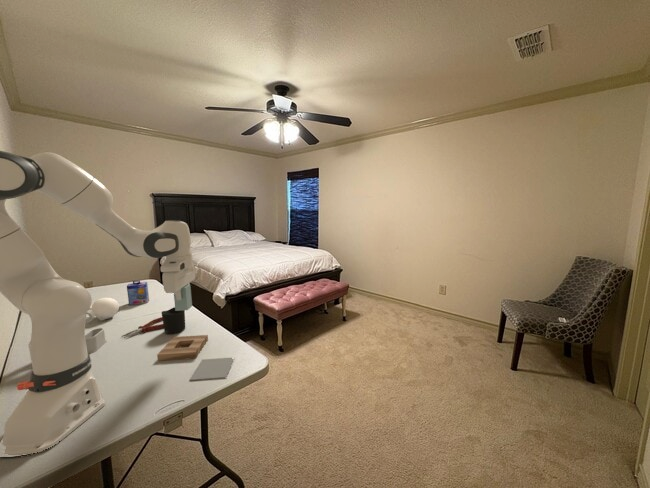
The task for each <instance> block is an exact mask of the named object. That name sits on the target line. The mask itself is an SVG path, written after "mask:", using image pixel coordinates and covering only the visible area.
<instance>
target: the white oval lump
mask: <svg viewBox="0 0 650 488" xmlns="http://www.w3.org/2000/svg"><path fill="white" fill-rule="evenodd" d="M92 303H93V304H91V306H90V308H89V310H91V311H93V312H94V315H95V317H96V318H97V319H99V321H105V320H108V319H111V318H114V316H116V314H118V312H119V309H120V305H119V302H118V301H117V300H116V299H114V298H111V297H101V298H99V299H97V300H95V301H94V302H92Z"/></svg>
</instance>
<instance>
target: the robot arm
mask: <svg viewBox="0 0 650 488" xmlns="http://www.w3.org/2000/svg"><path fill="white" fill-rule="evenodd" d="M32 192H37V193H40V194H42V195H45V196H46V197H49V198H50V199H51V200H52V201H53V202H55V203H57V204H58V205H60V206H61V207H63V208H64V209H67V210H68V211H70V212H72V213H73V214H76V215H77V216H79V217H82V218H83V219H85V220H87V221H89V222H91V223H93V224H95V225H96V226H97V227H99V228H100V229H101V230H102V231H105V232H106V233H107V234H109V235H110V236H111V237H113V238H114V239H115V240H117V242H118V243H119V244H120V245H121V246H122V248H123V250H124V251H125V252H126V253H127V254H128V255H130V256H131V257H136V258H149V259H160V258H165V260H164V262H163V263H162V264H161V266H160V272H161V273H162V275H161V276H162V277H161V278H162V279H161V280H162V286H163V290H164V292H165V293H166V294H173V295H174V294H175V295H176V300H181V299H182V298H183V295H182V294H181V288H183V287H184V286H186V285H187V284H190V283H191V282H193V281H194V280H195V279H196V269H195V264H194V262H193V252H192V250H191V244H192V238H191V233H190V228H189V225H188V223H186V222H184V221H182V220H172V219H169V220H165V221H164V222H163V223H162V224H160V225H159V226H157V227H155V228H153V229H151V230H146V229H145V230H144V229H140V228H136V227H134V226H132V224H129V223H128V222H127V221H126V220H124V219H123V218H122V217H121V216H120V215H118V214H117V213H116V212H115V211H114V210H113V206H114V197H113V193H112V192H111V191H110V190H109V189H108V188H107V187H106V186H105V185H104V184H103V183H102V182H100V181H99V179H97V178H95V176H93V175H91V174H90V173H89V172H88V171H86V170H85V169H83V168H82V167H80V166H78V165H77V164H76V163H74V162H72V161H70V160H69V159H68V158H65V157H64V156H61V154H58V153H55V152H50V151H45V152H39V153H36V154H34V155H32V156H30V157H25V156H22V155H17V154H14V153H11V152H7V151H3V150H0V293H1V294H2V295H3V296H4V298H6V299H7V300H8V301H9V302H10V303H11V304H12V305H13V306H14V307H15V308H16V309H17V310H18V311H20V312H22V313H24V314H26V315H28V316H29V318H30V321H31V334H30V335H31V336H30V341H29V344H28V350H29V356H30V361H31V366H32V371H31V374H30V377H29V378H30V379H29V380H27V381H26V380H25V381H24V380H23V381H20V382H19V383H17V386H16V389H17V391H24V390H28V391H27V392H26V393H25V395H24V396H23V397H22V399H20V402H19V403H18V405H17V406H16V407H15V409H14V410H13V411H12V413H11V414H10V415H9V416H8V418H7V420H6V421H5V424H4V428H3V437H2V438H1V439H3V443H2V444H3V445H4V446H6V449H5V453H4V454H8V455H23V454H31V453H32V454H31V455H34V454H33V453H35V454H38V453H41V452H44V451H46V450H45V449H47V450H49V449H51V448H53V447H54V446H53V445H55V444H56V445H57V444H58V443H60V442H61V441H63V440H64V439H65V438H66V437H67V436H69V435H70V434H71V433H73V431H74V430H76V429H78V427H80V426H81V425H82V424H84V422H86V421H87V420H88V419H90V418H91V417H92V416H94V414H96V413H97V412H98V411H100V410H101V409H102V408H103V407H105V405H106V402H105V399H104V398H102V394H101V392H100V390H99V385H98V383H97V379H96V378H95V376H94V374H93V372H92V370H91V369H92V359H91V356H90V353H87V346H86V339H85V335H86V325H85V321H86V317H87V315H88V314H87V311H88V310H89V308H90V306H92V303H93V302H92V301H93V298H92V295H91V293H90V292H89V290H87V289H86V287H84V286H83V285H82V284H80V283H79V282H76V281H74V280H73V281H72V280H69V279H65V278H64V277H62V276H60V275H59V274H58V273H57V272H56V271H55V269H54V268H53V267H52V265H51V264H50V262H49V260H48V259H47V257H46V254H45V252H44V251H43V250H42V249H41V247H40V246H39V245H38V244H37V243H36V242H35V241H34V240H33V238H31V237H30V236H29V235H28V234H27V233H26V232H25V231H24V230H23V229H22V227H21V226H20V225H19V224H18V223H17V222H16V221H15V220H14V219H13V218H12V217H11V216H10V215H9V213H8V211H7V210H6V205H5V204H6V201H7V200H8V199H9V200H11V199H15V198H19V197H23V196H25V195H26V194H29V193H32ZM190 285H191V284H190ZM59 441H60V442H59ZM56 445H55V446H56ZM52 446H53V447H52ZM50 447H51V448H50ZM48 448H49V449H48ZM43 450H44V451H43ZM37 452H38V453H37Z"/></svg>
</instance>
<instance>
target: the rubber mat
mask: <svg viewBox="0 0 650 488" xmlns="http://www.w3.org/2000/svg"><path fill="white" fill-rule="evenodd" d="M232 363H234V361H233V359H232V357H222V358H221V357H220V358H205V359H201V361H200V363H199V364H198V366H197V367H196V369H195V370H194V372H193V373H192V375H191V377H190V378H189V381H190V382H192V381H202V380H203V381H205V380H216V379H217V380H219V379H218V378H220V379H226V378H225V377H227V378H228V376H227V375H229V373H230V371H229V370H231V369H232V366H233V364H232ZM231 365H232V366H231ZM228 372H229V373H228Z"/></svg>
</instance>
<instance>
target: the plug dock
mask: <svg viewBox="0 0 650 488" xmlns="http://www.w3.org/2000/svg"><path fill="white" fill-rule="evenodd" d="M206 342H207V343H208V342H209V335H208V334H202V335H200V334H199V335H185V336H181V335H180V336H173V338H172V339H170V340H169V342H168V343H166V345H164V347H163V348H162V349H161V350H160V351H159V352H158V353H157V354H156V356H157V361H159V362H160V361H172V360H173V361H174V360H187V359H186V358H190V359H196V358H197V357H198V356H199V355H198V354H200V353H201V352H202V350H203V349H202V348H204V347H205V346H206V344H207V343H206ZM204 345H205V346H204ZM180 346H181V347H180ZM200 351H201V352H200Z"/></svg>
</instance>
